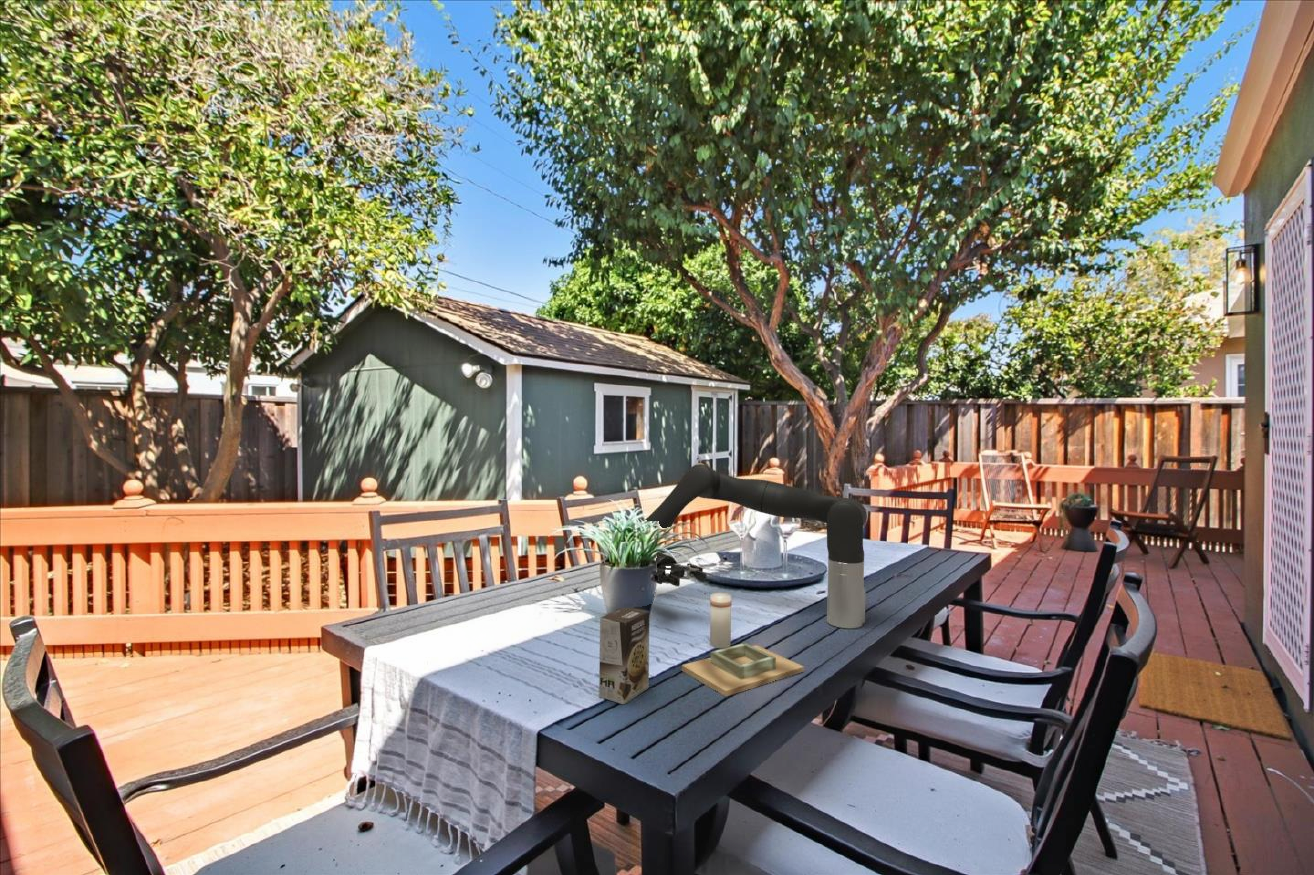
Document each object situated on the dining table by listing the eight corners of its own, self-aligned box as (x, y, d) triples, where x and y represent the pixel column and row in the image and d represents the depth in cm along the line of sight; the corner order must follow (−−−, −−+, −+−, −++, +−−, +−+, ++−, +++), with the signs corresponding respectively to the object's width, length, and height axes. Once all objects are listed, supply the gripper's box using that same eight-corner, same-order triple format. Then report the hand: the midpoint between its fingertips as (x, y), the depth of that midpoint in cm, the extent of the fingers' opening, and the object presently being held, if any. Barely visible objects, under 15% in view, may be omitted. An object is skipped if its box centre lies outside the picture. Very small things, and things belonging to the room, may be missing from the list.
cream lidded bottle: (721, 639, 159) (722, 591, 158) (735, 645, 154) (736, 596, 154) (705, 643, 156) (705, 594, 155) (718, 650, 151) (719, 600, 151)
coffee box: (624, 705, 123) (625, 623, 122) (598, 697, 126) (598, 617, 125) (650, 688, 131) (650, 610, 130) (624, 680, 134) (624, 605, 133)
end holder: (756, 650, 152) (756, 634, 151) (803, 672, 139) (804, 655, 139) (681, 670, 139) (681, 653, 139) (725, 696, 127) (726, 678, 127)
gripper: (635, 555, 173) (669, 569, 160) (678, 549, 181) (714, 562, 167) (635, 582, 173) (669, 598, 160) (677, 575, 181) (713, 590, 168)
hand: (692, 580), depth 164 cm, fingers open, 8 cm apart
